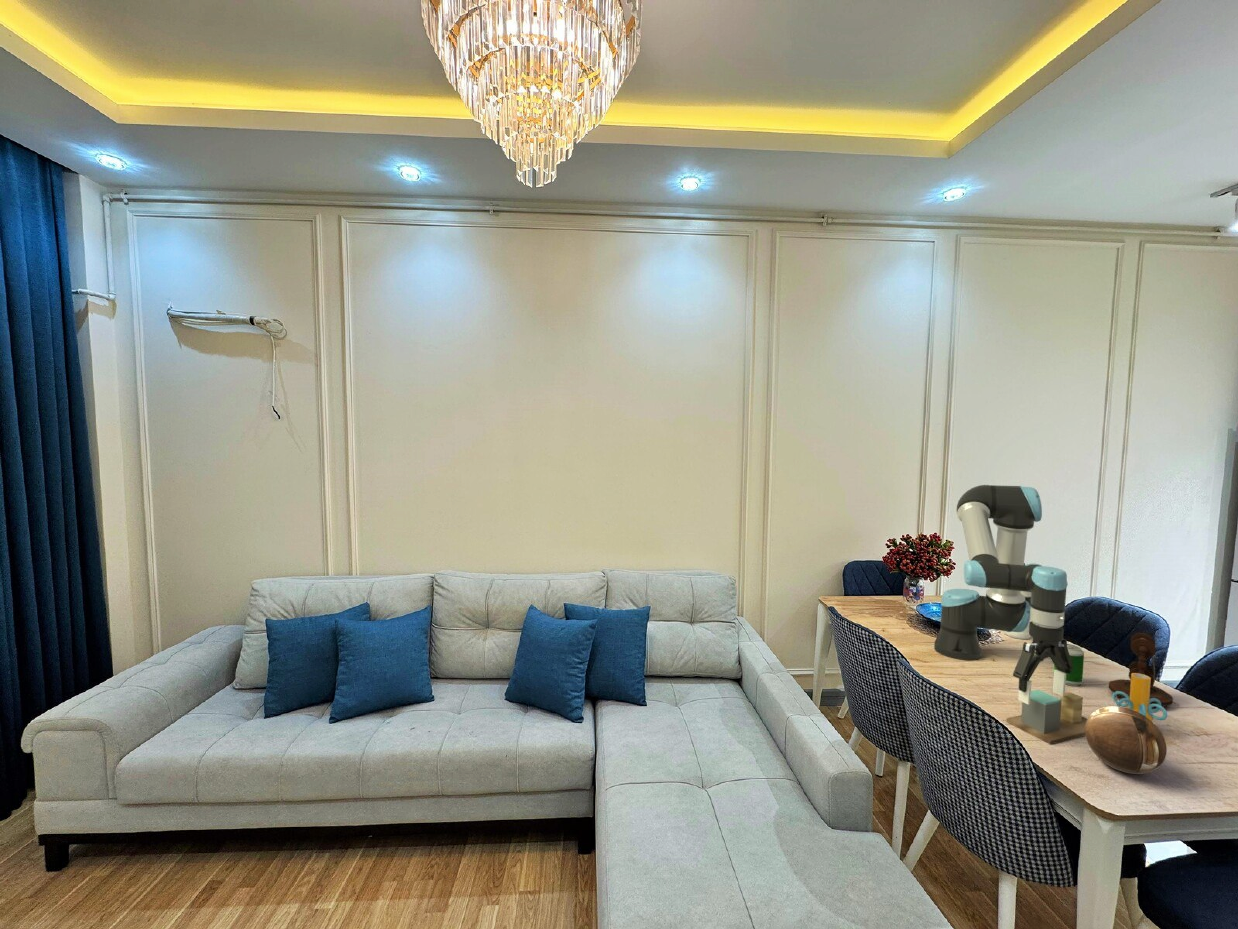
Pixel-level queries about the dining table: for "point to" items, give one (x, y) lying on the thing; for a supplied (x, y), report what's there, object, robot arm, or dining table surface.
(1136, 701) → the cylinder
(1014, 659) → the dining table surface
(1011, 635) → the vodka
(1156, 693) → the turned wooden candlestick
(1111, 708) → the bronze metallic ball
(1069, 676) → the soda can
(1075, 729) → the walnut board
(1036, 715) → the grey teal-topped block
